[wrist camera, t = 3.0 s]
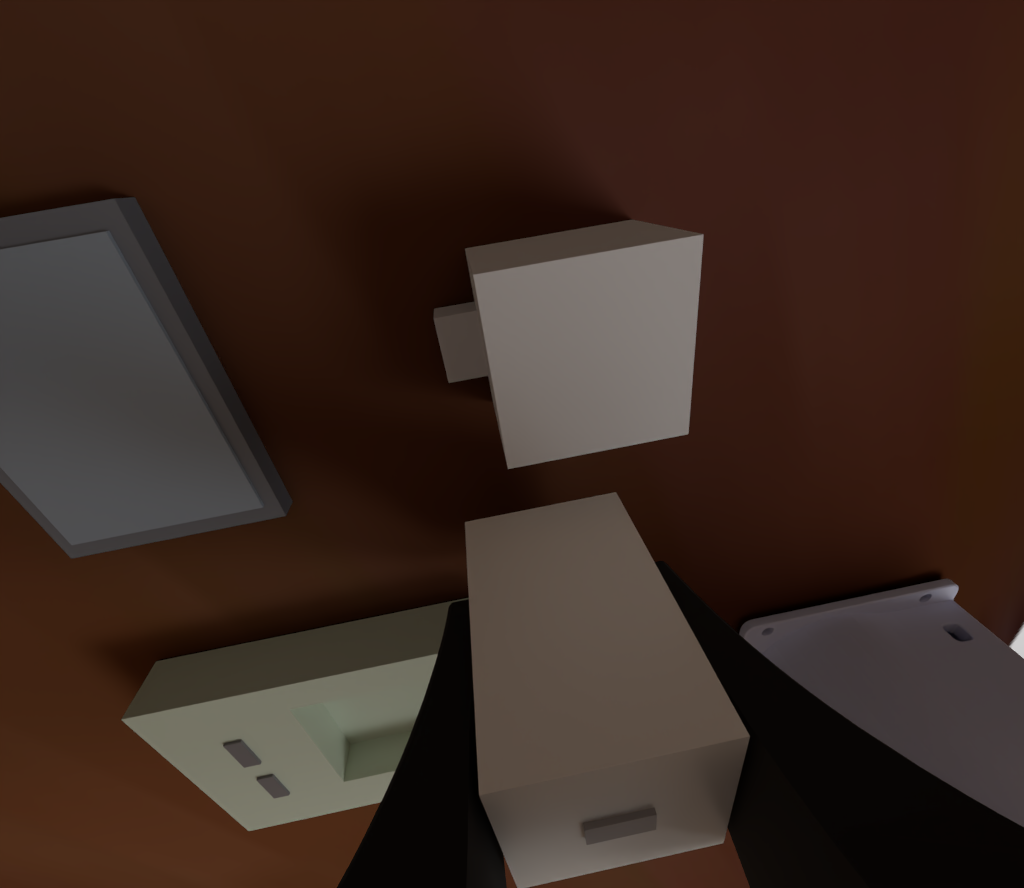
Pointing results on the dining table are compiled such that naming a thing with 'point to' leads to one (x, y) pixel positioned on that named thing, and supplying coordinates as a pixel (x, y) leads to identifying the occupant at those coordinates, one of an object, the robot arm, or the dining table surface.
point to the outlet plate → (294, 715)
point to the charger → (591, 697)
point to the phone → (116, 390)
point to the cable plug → (580, 337)
